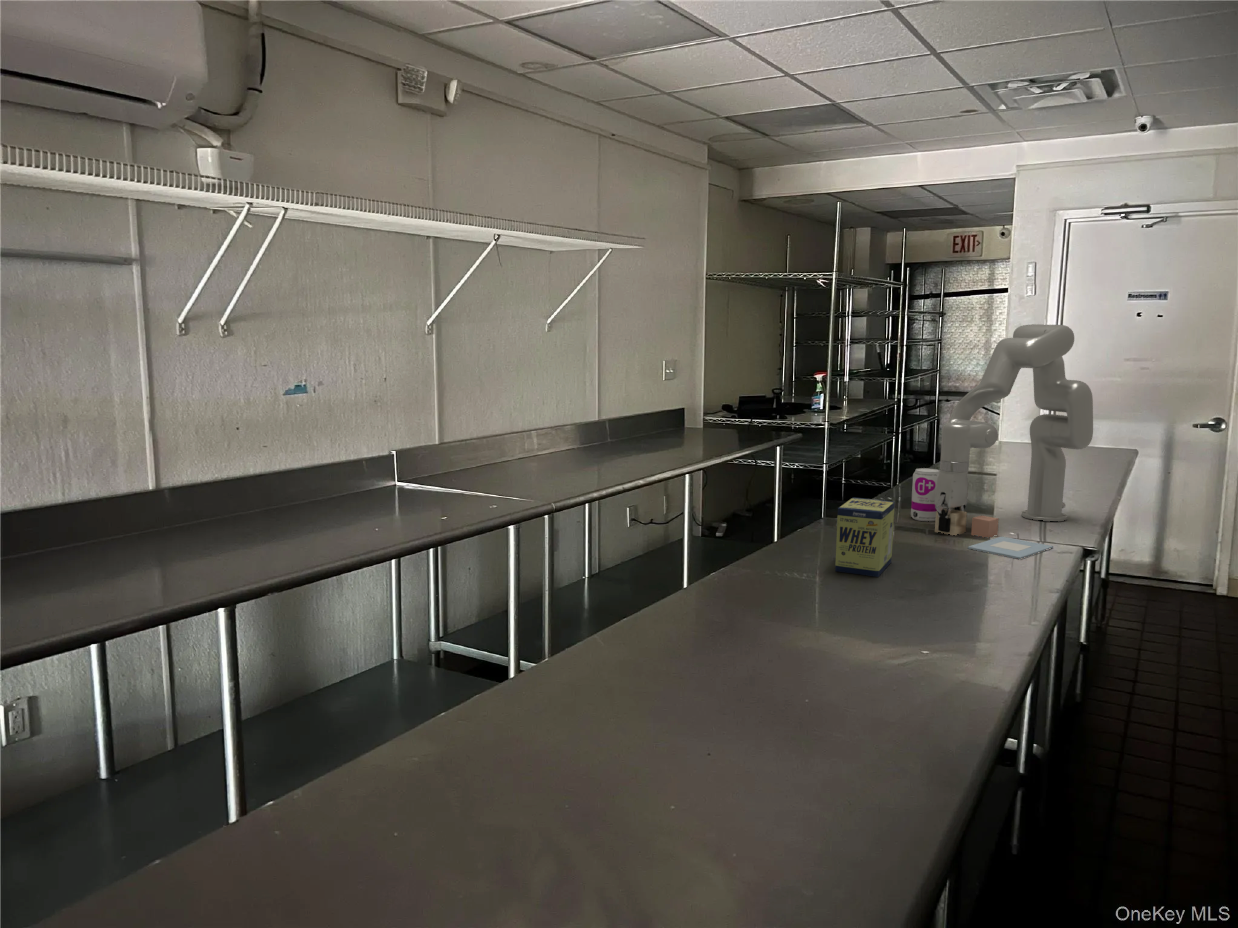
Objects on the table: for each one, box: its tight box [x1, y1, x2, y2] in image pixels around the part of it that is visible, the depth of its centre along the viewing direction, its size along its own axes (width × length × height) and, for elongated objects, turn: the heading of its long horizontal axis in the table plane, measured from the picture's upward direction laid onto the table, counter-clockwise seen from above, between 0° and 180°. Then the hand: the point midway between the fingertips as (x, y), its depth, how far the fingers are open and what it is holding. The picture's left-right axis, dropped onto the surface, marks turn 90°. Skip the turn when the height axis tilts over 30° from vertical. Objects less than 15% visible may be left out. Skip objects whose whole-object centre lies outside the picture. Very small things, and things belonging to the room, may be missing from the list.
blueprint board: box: [967, 536, 1054, 560], centre depth 232 cm, size 18×14×1 cm
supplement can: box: [910, 467, 940, 522], centre depth 267 cm, size 8×8×15 cm
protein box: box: [834, 497, 896, 578], centre depth 213 cm, size 10×16×16 cm
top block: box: [970, 515, 999, 539], centre depth 247 cm, size 5×5×5 cm
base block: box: [934, 508, 968, 536], centre depth 250 cm, size 6×6×6 cm
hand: (950, 529), depth 251 cm, fingers closed on base block, 6 cm apart
